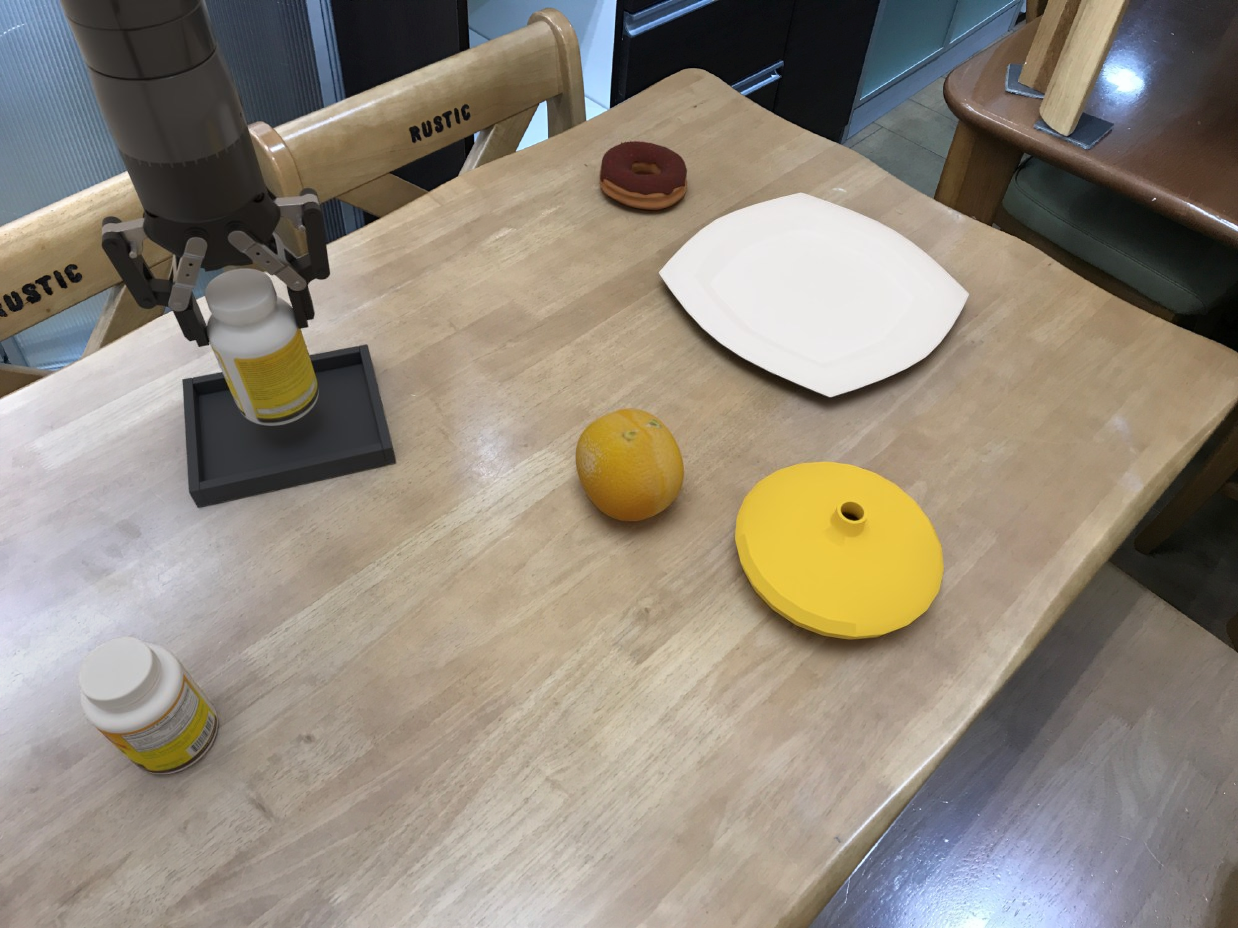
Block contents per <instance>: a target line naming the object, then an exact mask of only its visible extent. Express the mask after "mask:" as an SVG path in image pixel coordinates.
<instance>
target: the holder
mask: <svg viewBox="0 0 1238 928" xmlns="http://www.w3.org/2000/svg"><path fill="white" fill-rule="evenodd" d="M309 357H310V360H311V363H312V366H313V369H314V373H315V376H316V379H317V383H318V387H319V394H318V398H317V401H316V403H315V405H314V406H313V408H312V409H311V410H310V411H309V412H308V413H307V414H305V415H304V416H303V417H301V418H299V419H298V420H296V421H293V422H290V423H287V424H283V425H277V426H267V425H261V424H257V423H254V422H252V421H250V420H248V419H247V418H246V417H244V416H243V415H242V414H241V412H240V411H239V409H238V407H237V405H236V403H235V401H234V398H233V396H232V394H231V391H230V389H229V387H228V384H227V382H226V380H225V377H224V375H223V373H222V371H219V372H213V373H209V374H203V375H199V376H192V377H185V378H183V379H182V380H181V381H182V397H183V399H182V400H183V414H184V431H185V448H186V464H187V465H186V466H187V483H188V493H189V495H190V496H191V499H192V500H193V502H194V505H195V506H196V508H202V507H207V506H211V505H216V504H221V503H225V502H229V501H234V500H239V499H243V498H247V497H252V496H257V495H261V494H265V493H269V492H274V491H278V490H283V489H287V488H292V487H296V486H302V485H305V484H309V483H314V482H319V481H324V480H327V479H332V478H336V477H341V476H344V475H345V476H346V475H350V474H354V473H359V472H364V471H368V470H372V469H376V468H382V467H385V466H389V465H394V464H397V460H396V455H395V451H394V447H393V443H392V439H391V434H390V431H389V427H388V422H387V419H386V413H385V411H384V406H383V405H384V404H383V402H382V398H381V393H380V389H379V386H378V385H379V384H378V381H377V378H376V372H375V369H374V364H373V360H372V357H371V352H370V348H369V344H367V343H366V344H360V345H355V346H350V347H345V348H340V349H334V350H329V351H324V352H319V353H313V354H309Z"/></svg>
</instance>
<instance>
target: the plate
mask: <svg viewBox="0 0 1238 928" xmlns="http://www.w3.org/2000/svg"><path fill="white" fill-rule="evenodd" d="M658 275H659V276H660V278H661V279H662V281H663V282H664V283H665V285H666V286H667V288H668V290H669V291H670V292H671V293H672V294H673V295H672V296H674V297H675V299H676V300H677V301H678V302H679V304H680V305H681V306H682V308H683V309H684V310H685V312H687V314H688V315H689V316H690V317H691V318H692V319H693V320H694V321H695V322H696V324H697V325H698V326H699V327H700V328H701V329H702V330H703V331H704V332H705V333H706V334H707V335H709V336H710V337H711V338H712V339H713V340H715V341H716V342H717V343H718V344H720V346H722V347H724V348H726V349H727V350H728V351H730V352H732V353H733V354H735V355H736V356H738V357H739V358H741V359H742V360H744V361H746V362H748V363H751V364H752V365H754V366H755V367H758V368H760V369H761V370H764V371H766V372H768V373H769V374H772V375H774V376H776V377H778V378H781V379H783V380H785V381H787V382H790V383H792V384H795V385H796V386H799V387H802V388H804V389H806V390H808V391H811V392H813V393H816V394H818V395H821V396H823V397H825V398H827V399H831V398H834V397H838V396H841V395H845V394H847V393H850V392H853V391H857V390H859V389H861V388H864V387H867V386H871V385H873V384H875V383H877V382H881V381H883V380H885V379H888V378H890V377H893V376H894V375H896V374H898V373H901V372H903V371H905V370H907V369H908V368H910V367H912V366H914V365H915V364H917V363H919V362H920V361H922V360H923V359H925V358H926V357H928V356H929V355H930V354H931V353H932V351H934V350H935V349H936V348H937V347H938V346H939V345H940V344H941V343H942V341H943V340H944V338H945V337H946V336H947V335H948V334H949V332H950V331H951V329H952V328H953V326H954V324H955V323H956V321H957V319H958V318H959V316H960V314H961V312H962V310H963V308H964V307H965V304H966V302H967V300H968V298H969V296H970V293H969V292H968V291H967V290H966V289H965V288H964V287H963V286H962V285H961V284H960V283H959V282H958V281H957V280H956V279H955V278H954V277H953V276H952V275H951V274H949V272H947V271H946V270H945V269H944V267H942V266H941V265H940V264H939V263H938V262H937V261H935V259H933V257H931V255H929V254H928V253H926V252H925V251H924V250H922V248H920V247H919V246H918V245H916V243H914V242H913V241H911V240H910V239H908V238H906V236H904V235H902V234H901V233H899V232H897V231H896V230H895V229H892V228H890V227H889V226H887V225H885V224H883V223H881V222H879V221H877V220H876V219H873V218H871V217H869V216H866V215H864V214H861V213H859V212H857V211H855V210H852V209H849V208H846V207H844V206H841V205H839V204H836V203H833V202H830V201H828V200H826V199H823V198H819V197H817V196H814V195H810V194H807V193H804V192H796V193H793V194H789V195H785V196H780V197H776V198H773V199H769V200H766V201H765V200H764V201H762V202H758V203H755V204H752V205H749V206H745V207H743V208H740V209H737V210H734V211H732V212H730V213H727V214H725V215H723V216H720V217H718V218H716V219H714V220H713V221H711V222H710V223H708V224H707V225H706V226H704V227H703V228H701V229H700V230H698V232H697V233H696V234H694V235H693V236H692V237H690V238H689V239H688V240H687V241H686V242H685V243H683V245H682V246H681V247H680V248H679V249H678V250H677V251H676V252H675V254H673V255H672V256H671V257H670V258H669V260H668V261H667V262H666V264H664V266H663V267H662V268H661V269H659V272H658Z"/></svg>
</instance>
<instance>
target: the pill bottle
mask: <svg viewBox="0 0 1238 928" xmlns="http://www.w3.org/2000/svg"><path fill="white" fill-rule="evenodd" d="M204 298H205V301H206V304H207V307H208V311H209V312H210V313H211V314H210V316H209V318H208V320H207V322H206V325H207V337H208V340H209V346H210V348H211V350H212V352H213V354H214V357H215V359H216V362H217V364H218V366H219V368H220V370H221V372H222V373H223V375H224V377H225V380H226V382H227V384H228V387H229V389H230V391H231V394H232V396H233V398H234V401H235V403H236V405H237V407H238V409H239V411H240V412H241V414H242V415H243V416H244V417H246V418H247V419H248V420H250V421H252V422H254V423H257V424H261V425H267V426H277V425H283V424H287V423H290V422H293V421H296V420H298V419H299V418H301V417H303V416H304V415H305V414H307V413H308V412H309V411H310V410H311V409H312V408H313V406H314V405H315V403H316V401H317V398H318V394H319V387H318V383H317V379H316V376H315V373H314V369H313V366H312V363H311V360H310V357H309V355H310V354H309V353H310V352H309V351H308V347H307V344H306V340H305V337H304V334H303V331H302V329H299V327H298V324H297V321H296V318H295V315H294V311H293V308H292V305H291V304H290V303H288V302H287V301H286V300H285V299H284V298H282V297H280V296H278V294H277V290H276V288H275V285H274V283H273V280H272V279H271V277H270V276H269V274H268V273H267V274H266V272H263V271H261V270H259V269H256V268H255V269H254V268H236V269H232V270H231V269H230V270H228V271H224V272H222V273H220V274H219V275H217V276H215V277H214V278H213V279H211V280H210V281H209V282H208V284H206V287H205V290H204Z"/></svg>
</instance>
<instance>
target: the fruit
mask: <svg viewBox="0 0 1238 928" xmlns="http://www.w3.org/2000/svg"><path fill="white" fill-rule="evenodd" d="M575 468H576V472H577V475H578V479H579V482H580V484H581V486H582V488H583V490H584V492H585V494H586V495H587V496H588V498H589V499H590V500H591V502H592V503H593V504H594V506H596V508H598V510H600V511H601V512H602V513H603V514H605V515H606V516H608V517H610V518H612V519H614V520H618V521H622V522H639V521H644V520H647V519H650V518H652V517H654V516H656V515H658V514H660V513H662V512H663V511H664V510H665V509H667V508H668V507H669V506H670V505H671V504H672V503H673V502H674V501H675V500H676V498H677V497H678V495H679V494H680V492H681V489H682V487H683V484H684V478H685V465H684V460H683V456H682V453H681V449H680V447H679V444H678V442H677V440H676V438H675V437H674V435H673V433H672V432H671V430H669V428H668V427H667V426H666V425H665V424H664V423H663V422H662V421H661V420H660V418H658V417H657V416H656V415H654V414H652V413H650V412H648V411H645V410H643V409H638V408H622V409H617V410H615V411H612V412H609V413H607V414H604V415H602V416H600V417H598V418H596V419H595V420H593V421H592V422H590V423H589V425H587V426H586V427H585V428H584V429H583V431H582V432H581V433H580V435H579V437H578V440H577V443H576V448H575Z"/></svg>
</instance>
